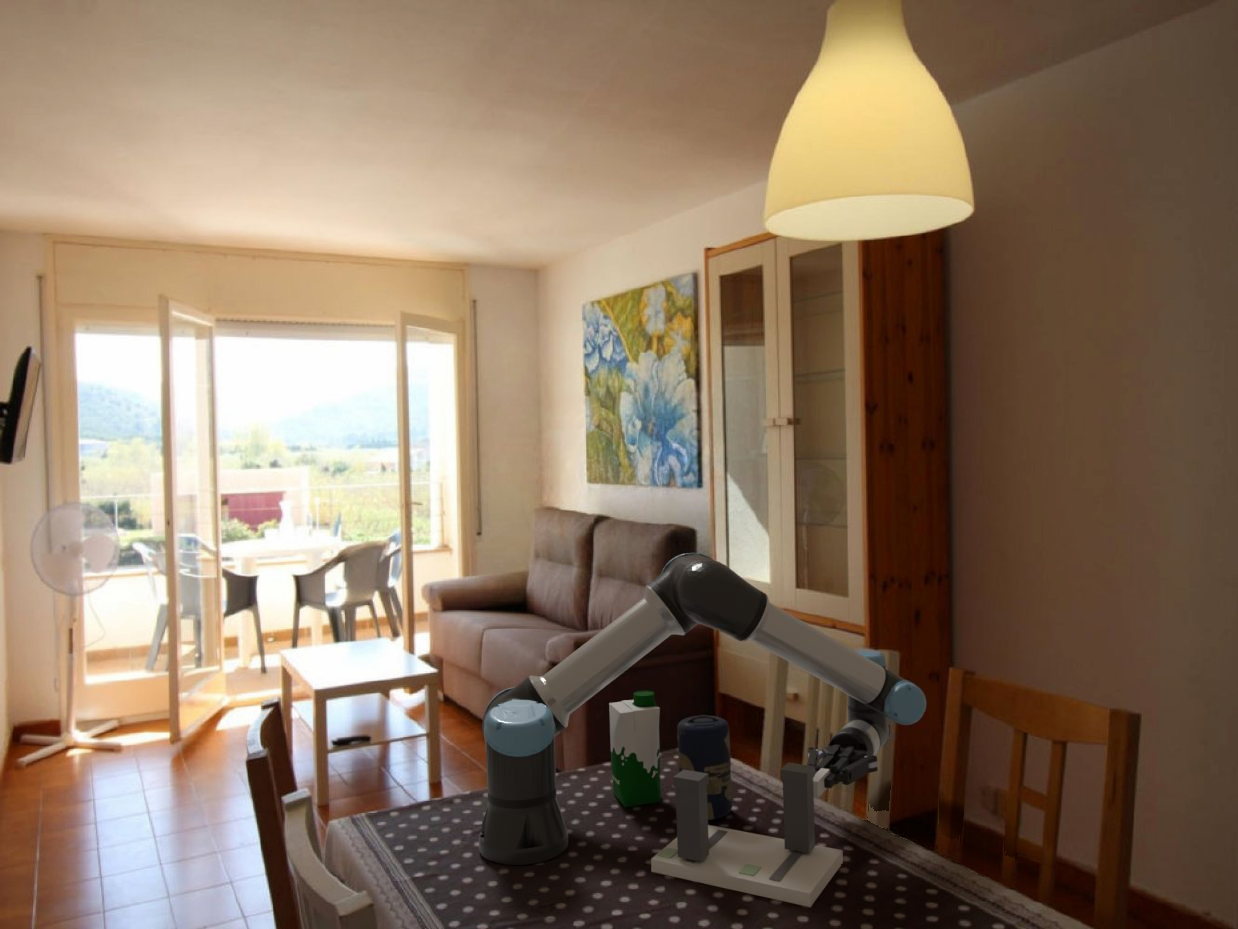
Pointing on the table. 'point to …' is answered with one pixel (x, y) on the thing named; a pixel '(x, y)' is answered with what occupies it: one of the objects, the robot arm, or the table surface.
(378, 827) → the table surface
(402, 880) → the table surface
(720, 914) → the table surface
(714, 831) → the switch board
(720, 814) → the canister
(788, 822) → the switch
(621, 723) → the milk carton
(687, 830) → the switch
